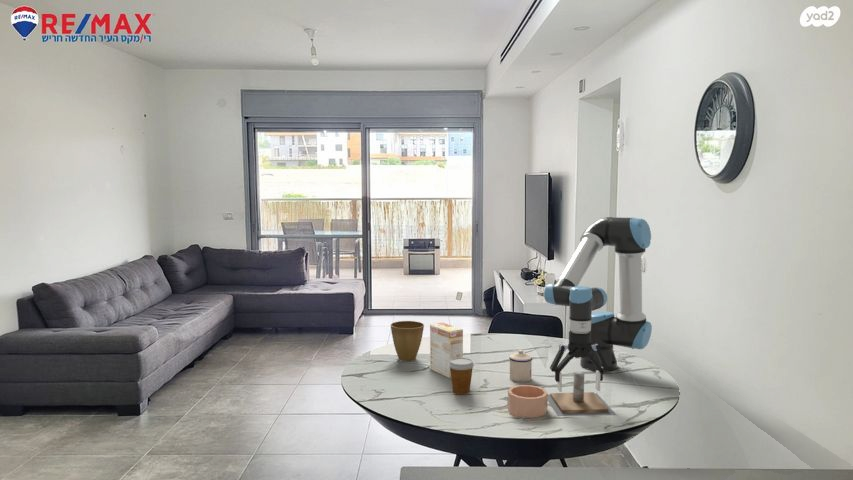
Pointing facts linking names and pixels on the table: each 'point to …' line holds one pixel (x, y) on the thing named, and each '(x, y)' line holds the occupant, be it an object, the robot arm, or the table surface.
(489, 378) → the table surface
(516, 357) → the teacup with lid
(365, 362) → the table surface
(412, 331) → the plant pot
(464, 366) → the disposable coffee cup
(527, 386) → the bowl
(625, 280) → the robot arm
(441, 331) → the coffeecake box
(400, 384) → the table surface
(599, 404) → the lid board
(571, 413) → the rubber mat
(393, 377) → the table surface
